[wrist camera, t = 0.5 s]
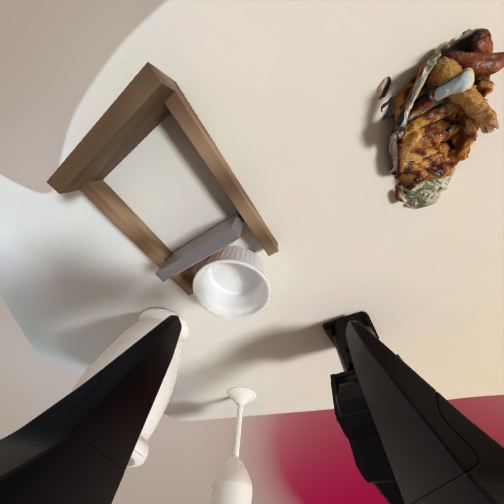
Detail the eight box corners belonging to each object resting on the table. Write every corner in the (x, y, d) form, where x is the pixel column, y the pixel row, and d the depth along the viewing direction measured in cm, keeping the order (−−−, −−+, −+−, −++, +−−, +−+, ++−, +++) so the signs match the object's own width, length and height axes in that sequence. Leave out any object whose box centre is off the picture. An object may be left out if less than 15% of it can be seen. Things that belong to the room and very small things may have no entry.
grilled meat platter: (391, 213, 19) (414, 226, 16) (370, 85, 15) (398, 68, 11) (471, 183, 17) (515, 190, 14) (478, 22, 13) (547, -19, 9)
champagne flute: (225, 386, 40) (180, 644, 19) (255, 388, 39) (243, 655, 19) (228, 400, 43) (194, 632, 23) (256, 402, 43) (247, 642, 22)
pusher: (246, 222, 20) (241, 240, 16) (182, 260, 23) (165, 283, 20) (238, 211, 20) (231, 227, 16) (173, 252, 23) (154, 273, 19)
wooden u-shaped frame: (277, 242, 21) (279, 261, 18) (194, 285, 26) (183, 307, 22) (175, 81, 15) (147, 61, 11) (86, 175, 19) (46, 181, 16)
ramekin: (281, 257, 23) (284, 279, 19) (254, 303, 27) (252, 328, 23) (214, 230, 21) (203, 247, 18) (196, 282, 26) (184, 306, 22)
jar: (122, 302, 29) (4, 430, 16) (184, 300, 27) (111, 437, 15) (149, 344, 34) (76, 465, 21) (202, 343, 33) (159, 472, 20)
